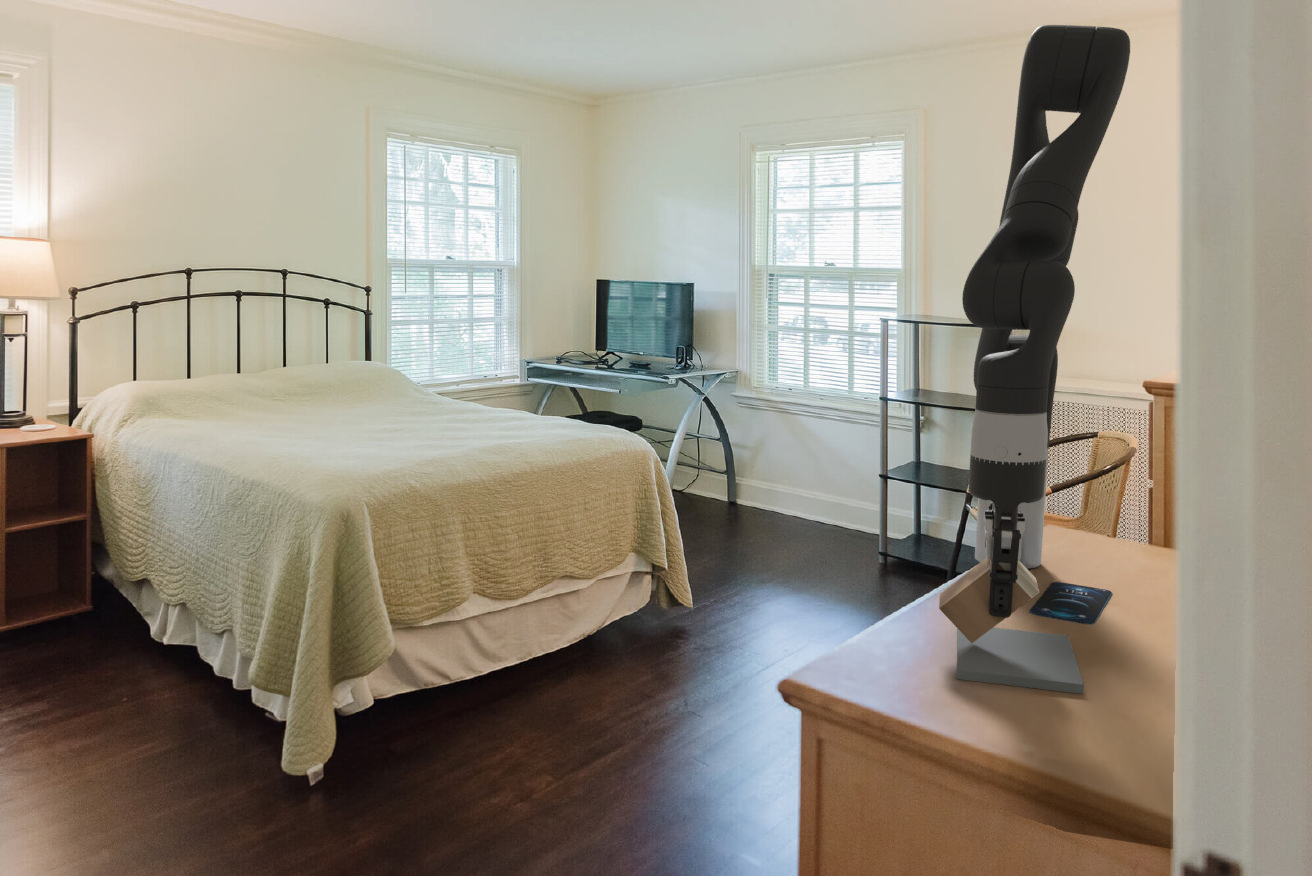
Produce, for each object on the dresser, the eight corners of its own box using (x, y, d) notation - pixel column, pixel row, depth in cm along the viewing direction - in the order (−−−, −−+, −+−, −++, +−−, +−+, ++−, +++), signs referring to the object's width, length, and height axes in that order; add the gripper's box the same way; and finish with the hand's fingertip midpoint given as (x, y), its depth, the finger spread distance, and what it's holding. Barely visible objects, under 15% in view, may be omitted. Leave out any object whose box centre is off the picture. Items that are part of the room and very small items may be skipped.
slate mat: (957, 631, 110) (957, 623, 110) (1067, 643, 106) (1068, 635, 106) (956, 678, 97) (957, 669, 97) (1082, 694, 93) (1083, 684, 93)
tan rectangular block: (939, 594, 105) (1003, 544, 102) (971, 627, 105) (1035, 578, 102) (939, 608, 101) (1005, 556, 98) (971, 643, 100) (1039, 592, 97)
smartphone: (1026, 612, 116) (1052, 580, 128) (1026, 617, 116) (1052, 584, 128) (1093, 624, 112) (1113, 590, 124) (1093, 629, 112) (1113, 594, 124)
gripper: (1052, 467, 91) (1041, 634, 93) (1040, 444, 104) (1030, 590, 107) (971, 463, 93) (962, 626, 96) (969, 440, 106) (962, 584, 109)
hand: (998, 606), depth 101 cm, fingers closed on tan rectangular block, 5 cm apart
